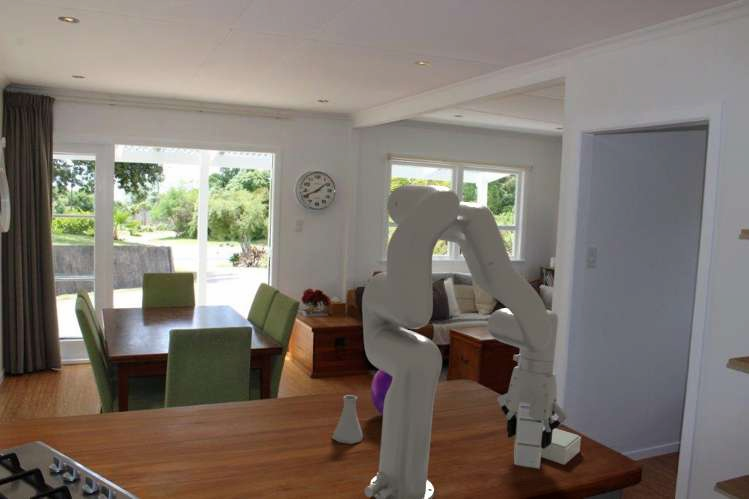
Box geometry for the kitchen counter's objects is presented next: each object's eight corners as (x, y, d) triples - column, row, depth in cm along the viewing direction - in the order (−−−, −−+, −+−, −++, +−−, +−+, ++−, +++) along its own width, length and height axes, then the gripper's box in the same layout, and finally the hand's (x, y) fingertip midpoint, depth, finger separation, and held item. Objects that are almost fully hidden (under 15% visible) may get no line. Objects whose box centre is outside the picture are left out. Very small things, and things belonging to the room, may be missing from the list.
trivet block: (564, 464, 137) (566, 447, 137) (522, 450, 143) (524, 434, 143) (579, 451, 145) (581, 435, 145) (539, 438, 151) (541, 423, 151)
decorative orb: (394, 434, 147) (399, 374, 146) (357, 414, 159) (361, 358, 158) (438, 423, 157) (443, 366, 155) (400, 404, 168) (404, 351, 167)
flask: (326, 439, 142) (328, 397, 141) (342, 429, 148) (344, 389, 147) (353, 447, 139) (356, 405, 138) (368, 437, 145) (371, 396, 144)
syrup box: (540, 469, 134) (546, 405, 133) (513, 464, 135) (519, 401, 134) (538, 458, 140) (545, 397, 138) (512, 454, 141) (518, 393, 140)
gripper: (492, 359, 138) (485, 434, 139) (568, 377, 127) (559, 458, 129) (507, 353, 144) (500, 425, 145) (580, 370, 133) (572, 448, 135)
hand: (528, 440), depth 137 cm, fingers closed on syrup box, 7 cm apart
